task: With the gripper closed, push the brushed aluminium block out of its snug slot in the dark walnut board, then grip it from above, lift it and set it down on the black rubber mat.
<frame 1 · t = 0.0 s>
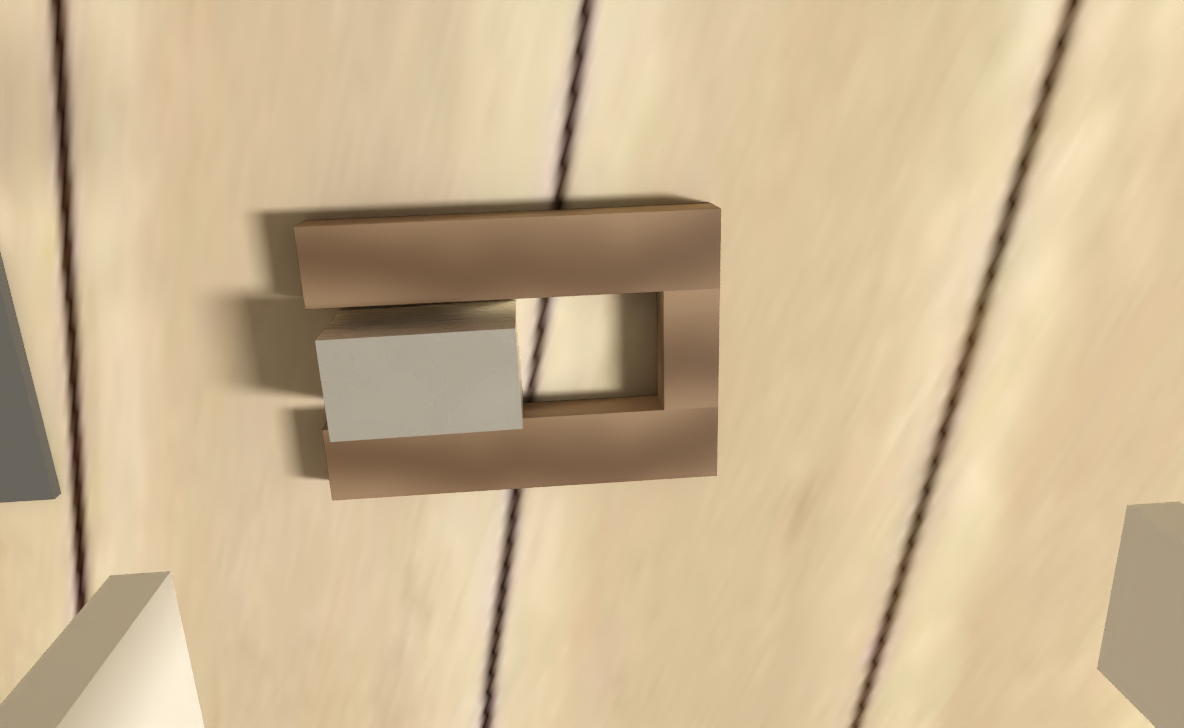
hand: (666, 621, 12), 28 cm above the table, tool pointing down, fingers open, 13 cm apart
slot board: (519, 347, 39), on the table
aluminium block: (433, 350, 39), on the table
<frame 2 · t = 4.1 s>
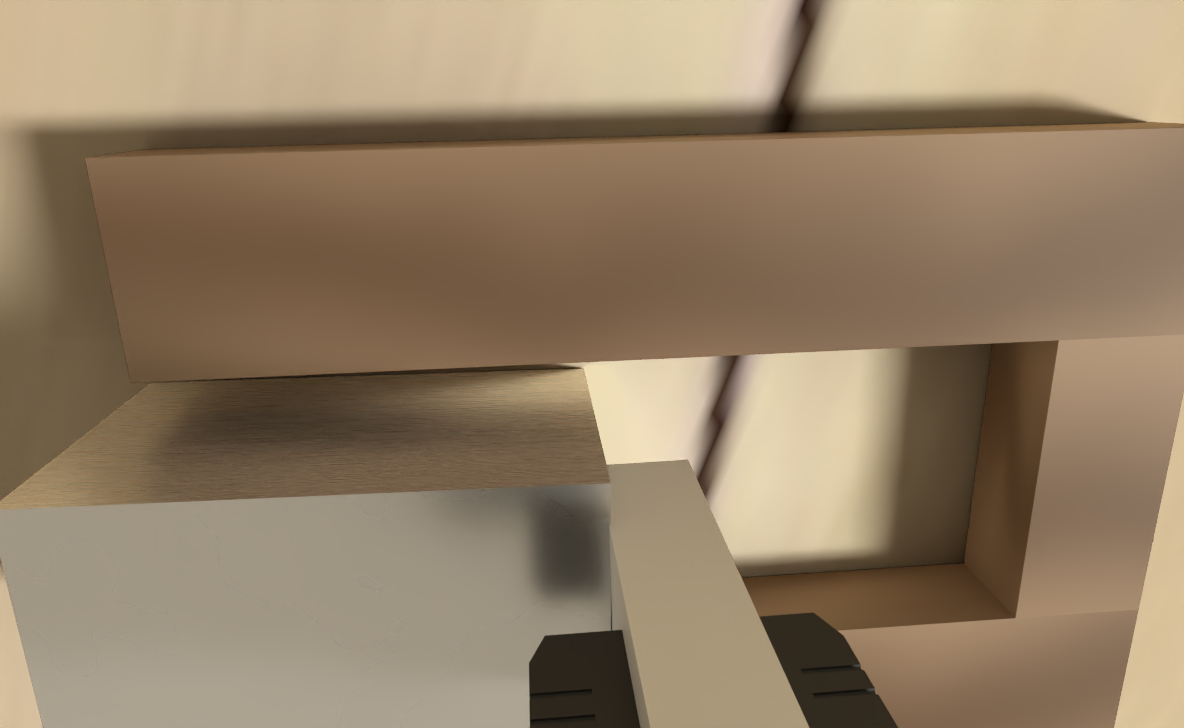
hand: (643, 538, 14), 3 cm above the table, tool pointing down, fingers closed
slot board: (666, 460, 17), on the table
aluminium block: (381, 481, 16), on the table, touching gripper
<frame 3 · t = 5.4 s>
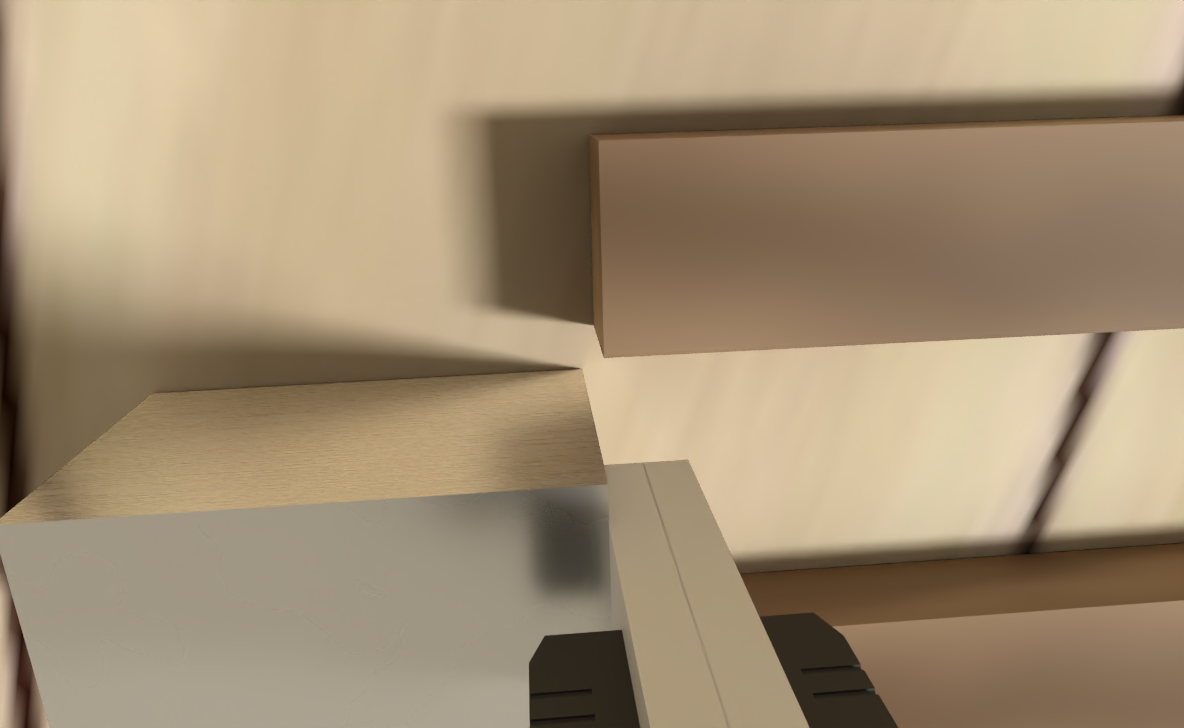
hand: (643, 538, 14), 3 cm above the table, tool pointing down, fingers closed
slot board: (1031, 435, 17), on the table
aluminium block: (383, 486, 17), on the table, touching gripper
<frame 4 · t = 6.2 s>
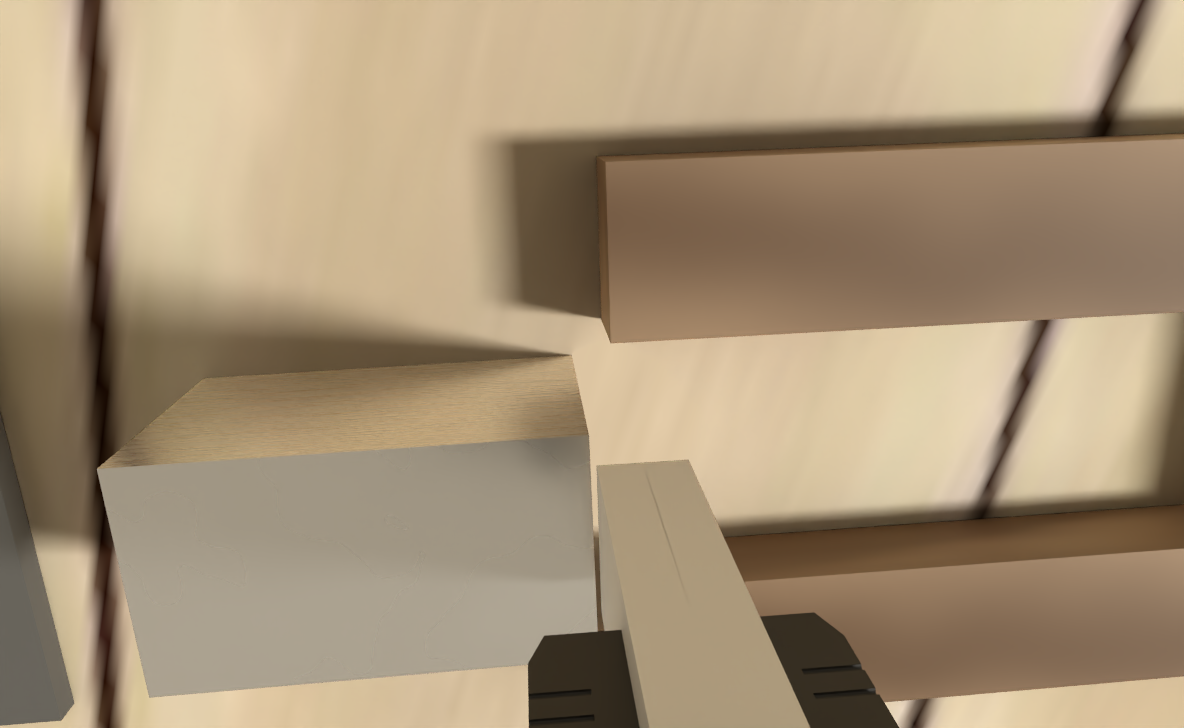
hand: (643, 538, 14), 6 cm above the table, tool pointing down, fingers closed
slot board: (981, 413, 20), on the table
aluminium block: (401, 456, 19), on the table
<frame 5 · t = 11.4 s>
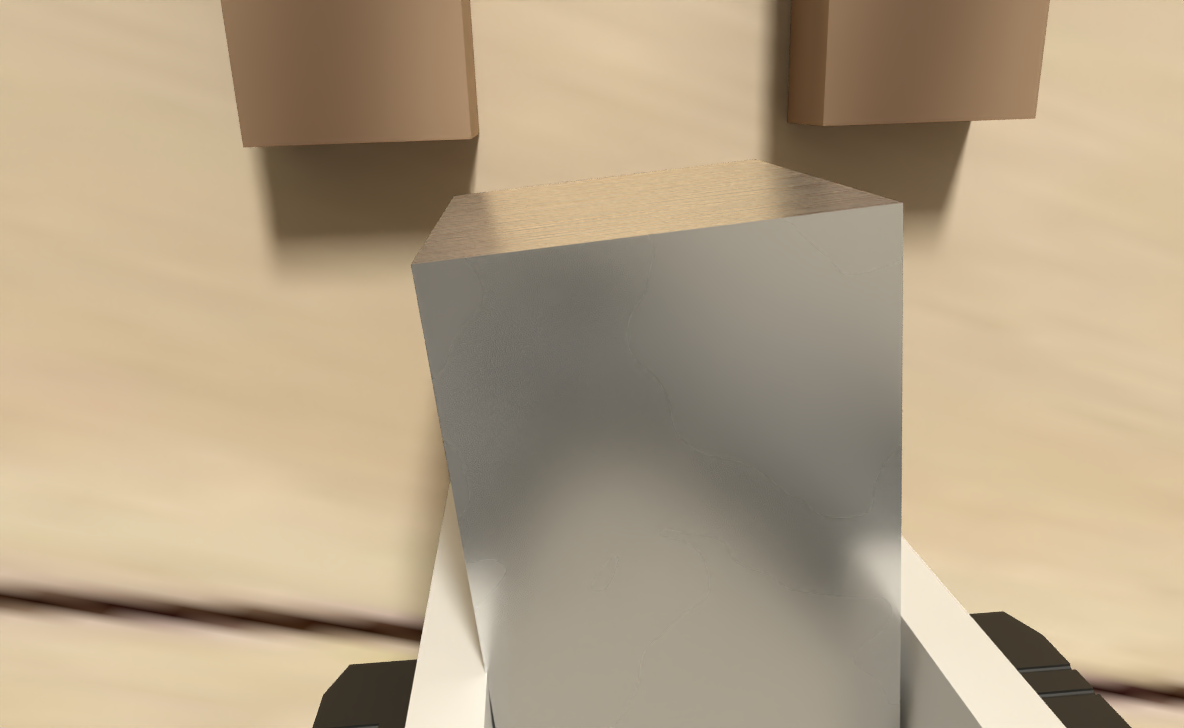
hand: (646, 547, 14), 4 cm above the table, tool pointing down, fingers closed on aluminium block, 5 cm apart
aluminium block: (632, 431, 13), point 3 cm above the table, touching gripper
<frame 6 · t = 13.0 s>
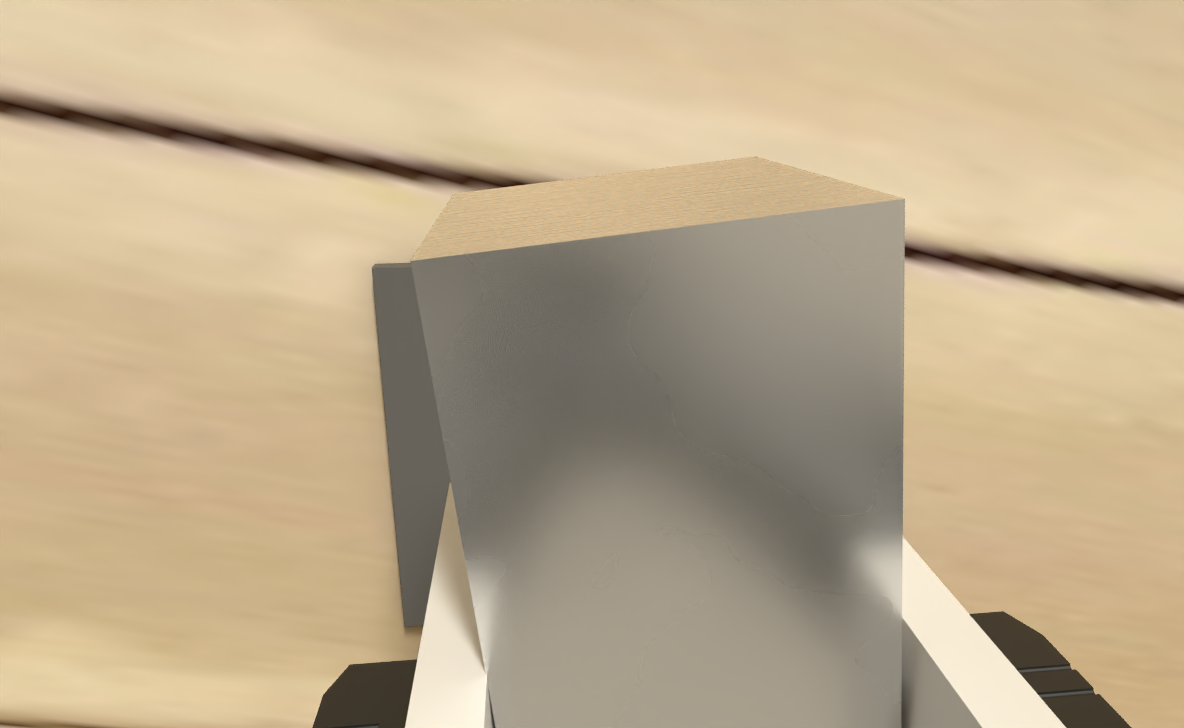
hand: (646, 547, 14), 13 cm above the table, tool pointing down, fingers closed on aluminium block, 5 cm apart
rubber mat: (582, 444, 27), on the table
aluminium block: (632, 429, 13), point 12 cm above the table, touching gripper
when the fingers open (1 cm above the table, at t = 14.9 s): aluminium block stays where it is, resting on rubber mat.
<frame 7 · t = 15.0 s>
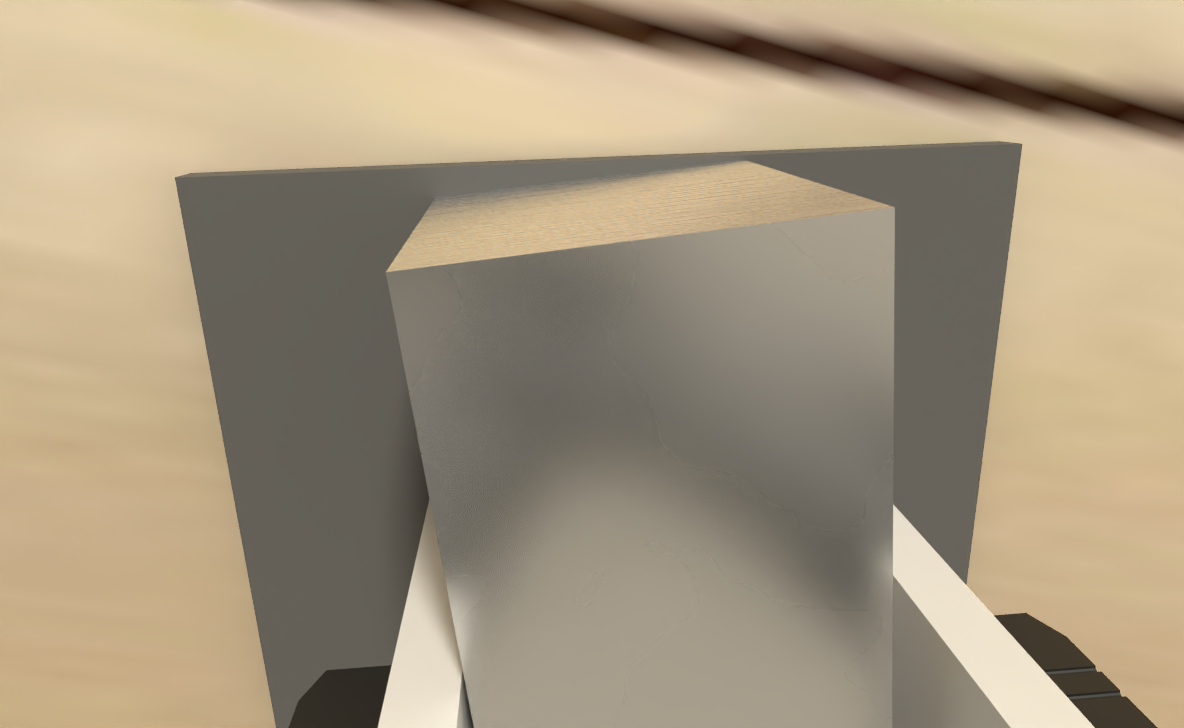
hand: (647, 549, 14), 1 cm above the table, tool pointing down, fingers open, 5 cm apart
rubber mat: (618, 518, 14), on the table
aluminium block: (619, 436, 13), point 1 cm above the table, touching gripper, rubber mat
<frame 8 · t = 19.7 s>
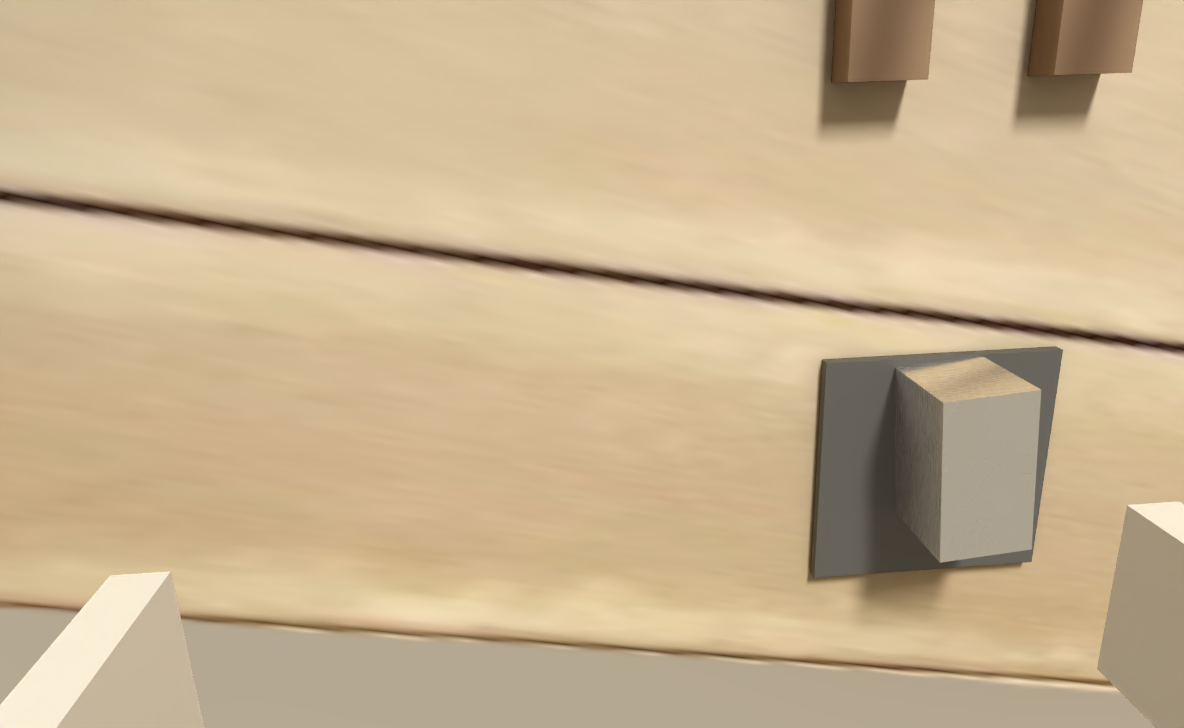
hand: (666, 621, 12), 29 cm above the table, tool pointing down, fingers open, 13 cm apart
rubber mat: (929, 462, 44), on the table
aluminium block: (937, 435, 43), point 1 cm above the table, touching rubber mat
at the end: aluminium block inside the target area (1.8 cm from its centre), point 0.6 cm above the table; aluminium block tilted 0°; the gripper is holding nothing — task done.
